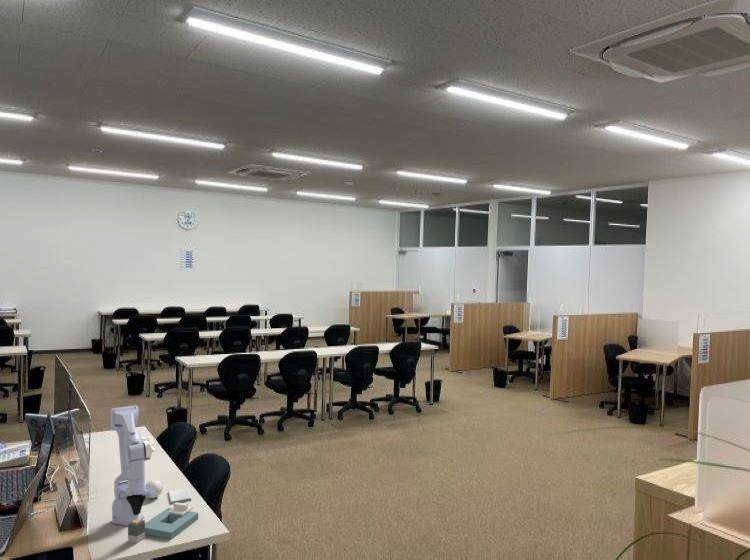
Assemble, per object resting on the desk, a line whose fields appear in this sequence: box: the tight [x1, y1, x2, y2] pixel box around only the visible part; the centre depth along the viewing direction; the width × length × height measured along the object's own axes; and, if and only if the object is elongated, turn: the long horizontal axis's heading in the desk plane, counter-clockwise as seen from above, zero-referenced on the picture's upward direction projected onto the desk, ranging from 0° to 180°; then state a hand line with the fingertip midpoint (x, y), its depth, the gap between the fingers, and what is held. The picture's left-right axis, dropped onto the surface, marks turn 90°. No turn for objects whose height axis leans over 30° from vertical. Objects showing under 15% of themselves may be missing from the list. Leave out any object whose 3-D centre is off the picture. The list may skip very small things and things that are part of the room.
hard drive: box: [167, 486, 192, 505], centre depth 232 cm, size 2×8×12 cm
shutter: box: [169, 502, 194, 516], centre depth 213 cm, size 6×6×3 cm
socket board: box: [145, 507, 199, 540], centre depth 207 cm, size 14×16×2 cm
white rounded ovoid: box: [145, 479, 164, 499], centre depth 233 cm, size 10×7×7 cm
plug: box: [127, 519, 146, 544], centre depth 197 cm, size 4×4×7 cm
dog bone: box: [140, 435, 156, 459], centre depth 282 cm, size 15×9×8 cm, turn 26°
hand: (137, 513), depth 197 cm, fingers closed
